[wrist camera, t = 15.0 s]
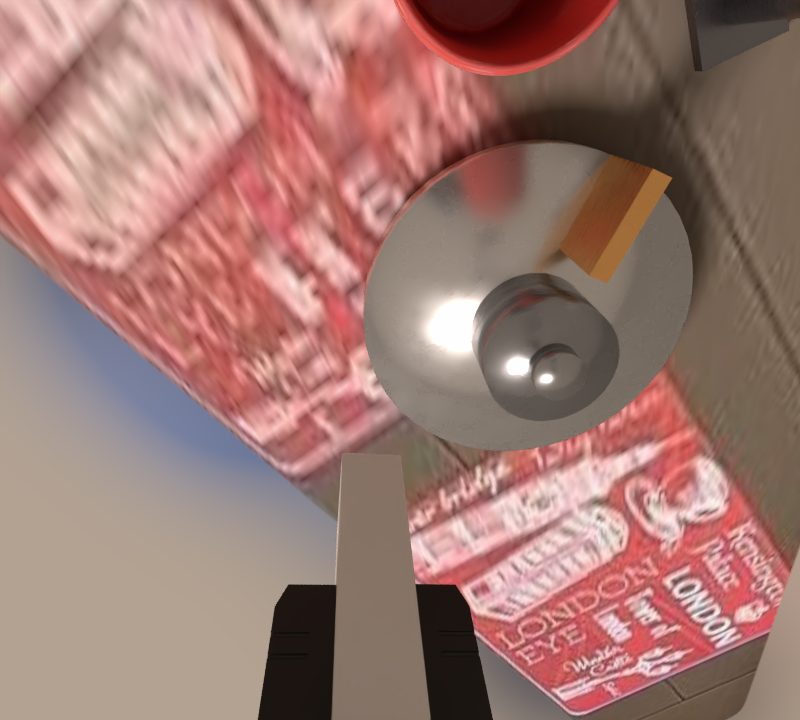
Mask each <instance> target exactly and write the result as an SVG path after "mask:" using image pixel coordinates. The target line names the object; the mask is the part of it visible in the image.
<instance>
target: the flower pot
mask: <svg viewBox="0 0 800 720" xmlns="http://www.w3.org/2000/svg"><path fill="white" fill-rule="evenodd" d="M619 1H620V0H394V2H395V4H396V6H397V8H398V10H399V12H400V14H401V15H402V17H403V19H404V20H405V22H406V23H407V25H408V26H409V28H410V29H411V30H412V32H413V33H414V34H415V35H416V37H417V38H418V39H419V40H420V41H421V42H422V43H423V44H424V45H425V46H426V47H427V48H428V49H429V50H431V51H432V52H433V53H434V54H436V55H437V56H438V57H440V58H441V59H443V60H444V61H446V62H448V63H450V64H452V65H454V66H455V67H458V68H460V69H463V70H465V71H469V72H472V73H476V74H482V75H491V76H505V75H515V74H520V73H524V72H529V71H532V70H535V69H537V68H540V67H543V66H546V65H548V64H550V63H551V62H553V61H555V60H557V59H559V58H561V57H563V56H564V55H566V54H567V53H569V52H570V51H572V50H573V49H575V48H576V47H577V46H579V45H580V44H581V43H582V42H584V41H585V40H586V39H587V38H588V37H589V36H590V35H591V34H592V33H593V32H595V31H596V30H597V28H598V27H599V26H600V25H601V24H602V23H603V22H604V21H605V20H606V19H607V17H608V16H609V15H610V14H611V12H612V11H613V9H614V8H615V7H616V5H617V4H618V2H619Z"/></svg>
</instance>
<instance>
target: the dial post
mask: <svg viewBox="0 0 800 720" xmlns="http://www.w3.org/2000/svg"><path fill="white" fill-rule="evenodd" d="M685 5H686V12H687V19H688V26H689V32H690V39H691V46H692V53H693V60H694V67H695V71H704V70H706V69H708V68H710V67H712V66H715V65H717V64H719V63H721V62H723V61H725V60H727V59H730V58H732V57H734V56H736V55H738V54H740V53H742V52H744V51H747V50H749V49H751V48H753V47H755V46H757V45H759V44H761V43H764V42H766V41H768V40H770V39H772V38H774V37H776V36H778V35H781V34H783V33H785V32H787V31H789V23H788V19H796V18H800V0H685Z"/></svg>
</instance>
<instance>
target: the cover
mask: <svg viewBox="0 0 800 720" xmlns="http://www.w3.org/2000/svg"><path fill="white" fill-rule="evenodd" d="M470 339H471V345H472V349H473V352H474V354H475V356H476V359H477V361H478V364H479V366H480V369H481V371H482V374H483V376H484V379H485V381H486V383H487V386H488V388H489V391H490V393H491V395H492V397H493V398H494V400H495V401H496V402H497V403H498V404H499V405H500V407H502V408H503V409H504V410H505V411H507V412H509V413H510V414H512V415H514V416H517V417H519V418H523V419H526V420H533V421H550V420H556V419H560V418H564V417H567V416H570V415H572V414H575V413H577V412H578V411H580V410H582V409H584V408H585V407H587V406H588V405H590V404H591V403H592V402H594V401H595V400H596V399H597V398H598V397H599V396H600V395H601V394H602V393H603V392H604V391H605V389H606V388H607V387H608V385H609V384H610V382H611V380H612V379H613V376H614V374H615V372H616V369H617V366H618V362H619V351H620V349H619V341H618V338H617V335H616V333H615V330H614V328H613V327H612V325H611V324H610V323H609V321H608V320H607V319H606V318H605V317H604V316H603V315H602V314H601V313H600V312H599V311H598V310H597V309H596V308H595V307H594V306H593V305H592V304H591V303H590V302H589V301H588V300H587V299H586V298H585V297H584V296H583V295H582V294H581V293H580V292H579V291H578V290H577V289H576V288H575V287H574V286H573V285H572V284H571V283H569V282H568V281H567V280H565V279H563V278H561V277H558V276H555V275H552V274H547V273H528V274H523V275H519V276H516V277H513V278H511V279H509V280H507V281H505V282H503V283H501V284H500V285H498V286H497V287H496V288H494V289H493V290H492V291H491V292H490V293H489V294H488V295H487V296H486V297H485V298H484V299H483V301H482V302H481V303H480V305H479V307H478V308H477V310H476V312H475V314H474V317H473V320H472V324H471V330H470Z"/></svg>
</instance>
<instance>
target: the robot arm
mask: <svg viewBox="0 0 800 720" xmlns="http://www.w3.org/2000/svg"><path fill="white" fill-rule="evenodd" d="M337 527H338V528H337V548H336V549H337V550H336V572H335V585H288V586H287V588H286V589H285V591H284V593H283V594H282V596H281V598H280V599H279V601H278V602H277V604H276V606H275V609H274V616H273V623H272V630H271V637H270V643H269V650H268V658H267V663H266V669H265V677H264V682H263V690H262V696H261V702H260V709H259V716H258V720H493V718H492V713H491V708H490V704H489V699H488V694H487V689H486V684H485V680H484V675H483V670H482V665H481V660H480V657H479V654H478V652H479V651H478V646H477V641H476V636H475V635H474V627H473V622H472V617H471V612H470V608H469V605H468V603H467V602H466V600H465V599H464V597H463V596H462V594H461V593H460V591H459V590H458V588H457V587H456V585H435V584H415V577H414V568H413V559H412V550H411V541H410V532H409V524H408V515H407V506H406V497H405V488H404V479H403V471H402V462H401V455H386V454H358V453H342V464H341V479H340V495H339V511H338V526H337Z"/></svg>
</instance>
